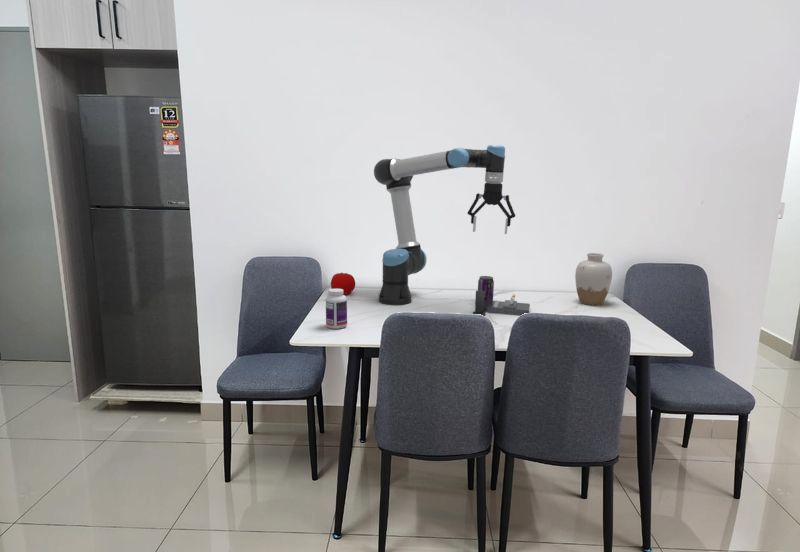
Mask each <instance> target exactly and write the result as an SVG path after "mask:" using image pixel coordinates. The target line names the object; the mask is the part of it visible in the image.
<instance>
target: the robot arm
mask: <svg viewBox="0 0 800 552" xmlns="http://www.w3.org/2000/svg"><path fill="white" fill-rule="evenodd" d="M505 158H506V147H505V146H504V145H500V144H499V145H498V144H497V145H496V144H495V145H493V144H488V145H487V148H486V149H473V148H472V149H471V148H463V147H456V148H452V149H451V150H445V151H439V152H433V153H429V154H428V153H427V154H423V155H418V156H413V157H409V158H408V157H407V158H403V159H401V158H400V159H399V158H384V159H381V160H379V161H378V162H377V163H376V164H375V165H374V169H373V176H374V178H375V180H376V181H377V183H379V184H381V185H383V186H385V187H386V191H387V192H388V193H389V194H390V197H391V204H392V210H393V218H394V222H395V229H396V236H397V241H398V244H397V246H396V247H395V248H393V249H388V250H386V251H384V252H383V255H382V261H381V262H382V285H381V287H380V291H379V294H378V302H379V303H380V304H383V305H384V304H385V305H391V306H392V305H393V306H399V305H401V306H403V305H407V304H409V303H410V304H411V302H412V300H413V299H412V298H413V297H412V294H411V290H410V287H409V276H410V275H415V274H417V273H419V272H421V271H423V269H424V268H425V267H426V264H427V254H426V253H425V251H423V249H422V248H421V243H419V241H417V238H416V229H415V223H414V218H413V212H412V204H411V197H410V189H412V179H413V177H414V176H416V175H418V176H419V175H423V174H428V173H434V172H441V171H447V170H451V169H452V170H453V169H459V168H476V169H479V168H480V169H481V168H482V169H485V175H484V176H485V177H484V182H485V183H484V187H483V193H480V192H478V193H476V195H475V199H474V200H473V203H471V206H470V207H469V209H468V211H467V213H466V214H467V215H469V216H470V217H471V218H470V223H471V225H473V226H472V233H475V232H476V229H477V227H476V226H477V216H476V215H477V213H478V212H480V211H481V210H482V208H483V207H484V206H485V205H487V206H489V205H492V206H498V207H499V208H500V210H501V211H502V212H503V213H504V215H505V216H506V218H505V225H504V235H507V234H508V227H510V226H511V221H512V219H513V218H515V217H516V213H515V212H514V209H513V206H512V204H511V201H510V195H509V194H507V195H503V181H504V168H505V160H506V159H505ZM482 198H483V201H482V203H481V204H480V205H479V206H477V208H476V209H475V210H474V208H475V207H476V205H477V203H478V202H479V200H480V199H482ZM502 199H503V200H504V201H505V202H506V205H507V208H508V210H509V211H508V210H507V209H506V207H504V205H503V204H502V202H501V200H502ZM473 210H474V211H473Z"/></svg>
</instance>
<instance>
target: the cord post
mask: <svg viewBox="0 0 800 552" xmlns="http://www.w3.org/2000/svg"><path fill="white" fill-rule="evenodd" d="M484 293H485V291H481V290H478V289H477V290H475V300H474V301H475V302H474V304H475V306H474V311H473V312H472V315H473V314H481V315H484V316H486V313H485V312H484ZM484 316H483V317H484Z"/></svg>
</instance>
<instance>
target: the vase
mask: <svg viewBox="0 0 800 552" xmlns="http://www.w3.org/2000/svg"><path fill="white" fill-rule="evenodd" d="M586 255H587V260H582V261H581V262H578V264H577V266H576V268H575V273H574V274H575V277H574V279H575V288H576V294H577V296H578V299H579V301H580V303H581V304H583V305H587V306H602V304H604V302H605V300H606V298H607V296H608V293H609V291H610V288H611V285H612V279H613V269H612V266H611V265H610V263H608V262H606V261H603V258H604V256H605V255H604V254H603V253H595V252H588V253H587V254H586Z"/></svg>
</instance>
